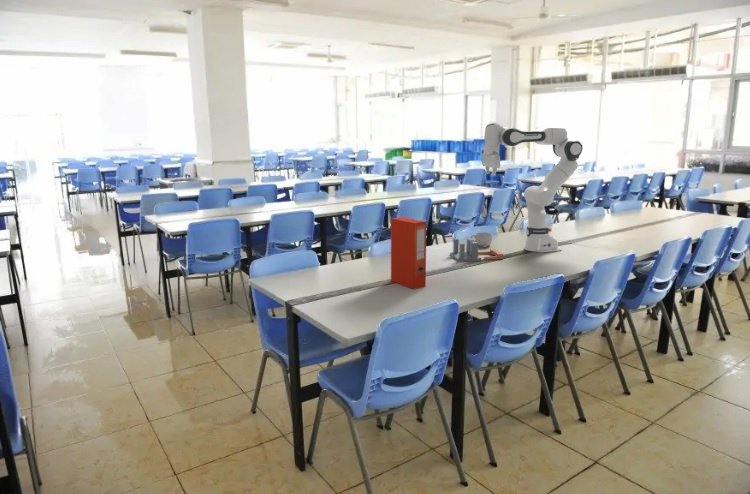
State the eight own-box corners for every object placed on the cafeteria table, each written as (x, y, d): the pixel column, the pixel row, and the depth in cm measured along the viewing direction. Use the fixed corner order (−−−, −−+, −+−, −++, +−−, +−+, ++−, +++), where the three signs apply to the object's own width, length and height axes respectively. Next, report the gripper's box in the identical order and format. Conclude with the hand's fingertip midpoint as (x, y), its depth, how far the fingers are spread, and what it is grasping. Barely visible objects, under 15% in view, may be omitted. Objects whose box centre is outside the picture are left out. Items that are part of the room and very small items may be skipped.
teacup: (490, 244, 344) (491, 232, 343) (492, 247, 334) (493, 235, 332) (469, 244, 346) (469, 232, 344) (470, 247, 335) (470, 235, 333)
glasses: (494, 253, 319) (494, 248, 318) (503, 258, 305) (503, 253, 304) (477, 254, 317) (477, 249, 317) (484, 259, 304) (484, 254, 303)
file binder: (403, 278, 268) (403, 216, 261) (425, 286, 254) (426, 221, 247) (391, 281, 263) (390, 218, 256) (413, 289, 250) (413, 223, 243)
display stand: (472, 253, 319) (472, 236, 316) (481, 260, 302) (481, 242, 300) (450, 254, 317) (450, 237, 314) (457, 261, 300) (458, 243, 298)
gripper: (503, 151, 301) (502, 176, 304) (490, 150, 321) (489, 173, 324) (492, 152, 300) (492, 176, 303) (480, 150, 320) (479, 173, 323)
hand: (490, 174), depth 314 cm, fingers open, 8 cm apart
